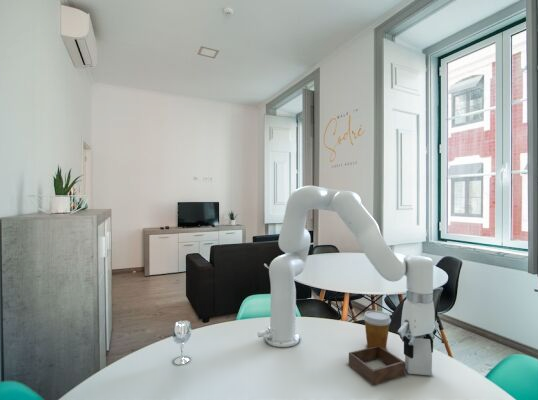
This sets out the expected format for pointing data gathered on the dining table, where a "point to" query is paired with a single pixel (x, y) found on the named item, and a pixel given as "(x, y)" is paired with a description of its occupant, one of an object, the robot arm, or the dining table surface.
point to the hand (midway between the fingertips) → (418, 353)
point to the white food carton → (420, 358)
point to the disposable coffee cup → (376, 328)
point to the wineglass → (182, 338)
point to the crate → (380, 374)
